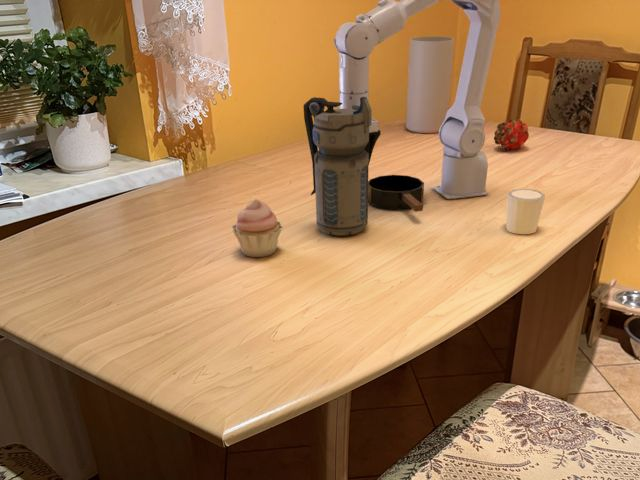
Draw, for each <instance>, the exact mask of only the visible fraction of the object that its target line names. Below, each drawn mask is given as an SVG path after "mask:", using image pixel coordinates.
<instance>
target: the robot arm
mask: <svg viewBox="0 0 640 480" xmlns="http://www.w3.org/2000/svg"><path fill="white" fill-rule="evenodd" d="M441 1H442V0H399V1H397V0H379V1H378V2H377V5H378V6H377V7H374V8H373V9H371V10H369V11H368V12H366V13H364V14H363V13H360V14H358V15H356V16H355V17H356V20H355V22H353V21H348V22H345V23H343V24H341V25H340V26H339V28H338V30H337V31H336V34H335V38H333V44H334V47H335V49H336V51H337V52H338V59H339V61H338V62H339V64H338V65H339V66H338V76H339V77H338V81H339V82H338V84H339V85H338V86H339V88H338V89H339V90H338V91H339V102H341V103H343V104H341V105H340V106H339V108H338V109H352V105H356V106H360V98H361V97H367V100H368V102H369V98H370V96H369V95H370V94H369V93H370V88H369V87H370V55H371V54H372V53H373V51H374V49H375V47H376V46H377V45H379V44H381V43H382V42H385V41H386V40H387V39H389V38H392V36H395V35H396V34H398V33H400V32H401V31H402V30H404V28H405V26H406V23H407V20H408V19H409V18H412V17H413V16H415V15H417V14H418V13H420V12H422V11H424V10H426V9H428V8H430V7H431V6H434V5H435V4H437V3H439V2H441ZM450 2H452V3H454V5H456V6H458V7H459V8H461V10H462V11H463V12H464V14H465V15H466V17H467V18H468V21H470V24H469V29H468V34H467V39H466V43H465V49H464V54H463V57H462V64H461V69H460V74H459V79H458V83H457V88H456V93H455V98H454V103H453V105H452V106H451V107H449V110H448V111H447V113H446V117H445V120H444V122H443V123H442V125H441V127H440V129H439V132H438V139H439V141H440V143H441V144H442V150H443V151H442V152H443V153H442V164H441V177H440V179H441V180H440V185H438V186H433V190H435V191H436V192H437V193H438V194H440V196H442V197H444V199H446V200H454V199H464V198H473V197H482V196H486V195H487V192H486V186H487V179H488V178H487V177H488V168H489V163H488V156H487V154H486V153H485V152H484V151H483V150H482V149H483V147H484V145H485V143H486V142H485V141H486V134H485V124H486V118H485V116H484V114H483V112H482V110H481V109H482V108H481V106H482V103H483V102H482V101H483V98H484V92H485V88H486V84H487V79H488V75H489V70H490V65H491V60H492V55H493V51H494V47H495V42H496V37H497V33H498V29H499V25H500V19H501V13H502V11H501V3H500V0H450ZM369 103H370V102H369ZM381 133H382V132H381V129H379V120H376V119H375V118H373V116H371V126H369V142H368V143H367V145H366V147H365V148H364V150H365V151H366V152H367V153H368V154H369V164H370V162H371V158H372V154H373V152H374V148H375V146H376V143H377V141H378V140H379V138H380V136H381Z"/></svg>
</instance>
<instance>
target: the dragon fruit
mask: <svg viewBox="0 0 640 480" xmlns="http://www.w3.org/2000/svg"><path fill="white" fill-rule="evenodd" d="M496 128H497V129H496V130H494V136H493V141H494V144H495V145H499V146H500V148H501V149H502V150H503V151H505V152H508V151H509V150H510V149H513V150H514V151H515V150H516V151H517V150H518V151H520V150H521V149H522V147H523V146H524V144H525V143H527V140H528V139H529V137H530V134H529V127H528V125H527V123H525V122H524V123H523V121H522V120H521V119H519V118H518V119H509V120H507V121H503V122H501V123H498V124H497V126H496Z"/></svg>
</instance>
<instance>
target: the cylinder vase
mask: <svg viewBox="0 0 640 480" xmlns="http://www.w3.org/2000/svg"><path fill="white" fill-rule="evenodd" d="M454 46H455V38H454V37H450V36H416V37H411V38H409V53H408V57H409V58H408V73H407V95H406V96H407V97H406V98H407V99H406V116H405V117H406V120H405V128H406V129H407V130H408V131H410V132H413V133H417V134H437V133H439V129H440V127H441V125H442V123H443V122H444V120H445V117H446V113H447V111H448V110H449V109H450V98H451V85H452V71H453V59H454Z"/></svg>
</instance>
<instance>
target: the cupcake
mask: <svg viewBox="0 0 640 480" xmlns="http://www.w3.org/2000/svg"><path fill="white" fill-rule="evenodd" d="M236 216H237V217H236V219H237V221H236V224H234V225H231V228H232V233H233V234H234V237H236V239H237V242H238V244H239V248H240V251H241V252H242V254H243V255H245V256H247V257H250V258H263V257H268V256H271V255H273V254H275V252H276V250H277V247H278V241H279V237H280V234H281V232H282V231H283V229H284V227H283V226H282V222H281V221H278V218H277V215H276V214H275V213H274V212H273V211H272V209H271V207H270V206H269V205H268V204H267V203H265V202H264V201H262V200H261V199H254V200H252V201H250V202H249V203H248V204H247V205H246V206H245V208H244V209H242V210H240V211H239V212H238V213H237V215H236Z"/></svg>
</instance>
